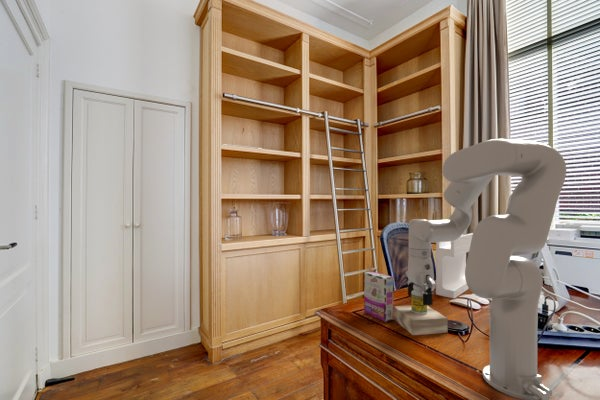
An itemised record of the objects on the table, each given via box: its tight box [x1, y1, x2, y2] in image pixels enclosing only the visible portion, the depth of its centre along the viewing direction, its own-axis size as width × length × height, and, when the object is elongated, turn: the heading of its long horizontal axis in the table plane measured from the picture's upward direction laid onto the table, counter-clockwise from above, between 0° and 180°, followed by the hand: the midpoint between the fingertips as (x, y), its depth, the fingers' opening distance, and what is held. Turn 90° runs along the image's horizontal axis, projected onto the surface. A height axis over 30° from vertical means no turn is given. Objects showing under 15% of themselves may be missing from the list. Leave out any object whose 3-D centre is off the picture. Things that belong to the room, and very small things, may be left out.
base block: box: [393, 304, 449, 336], centre depth 104 cm, size 13×13×5 cm
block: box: [435, 232, 473, 299], centre depth 148 cm, size 35×8×28 cm, turn 134°
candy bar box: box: [363, 270, 394, 323], centre depth 113 cm, size 11×5×16 cm, turn 33°
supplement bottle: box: [410, 284, 427, 314], centre depth 104 cm, size 5×5×10 cm
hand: (419, 300), depth 104 cm, fingers open, 9 cm apart
